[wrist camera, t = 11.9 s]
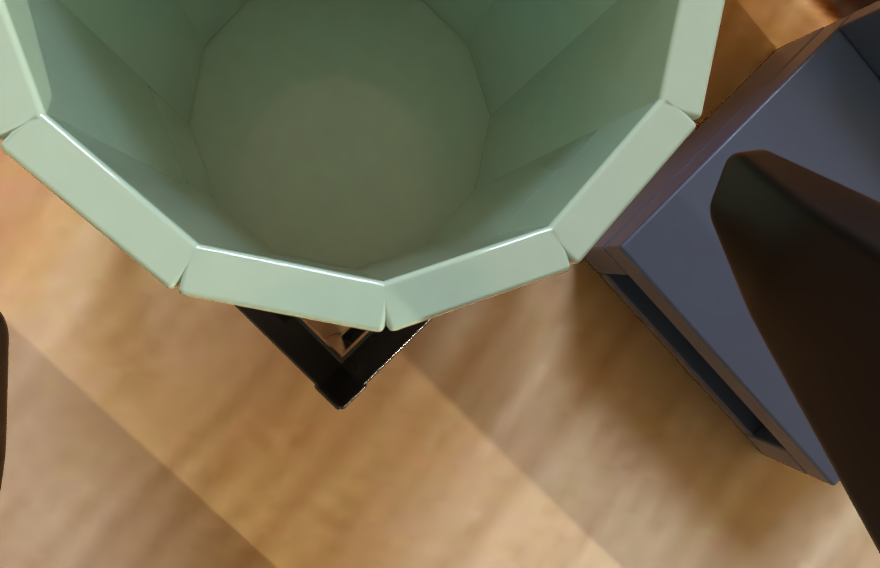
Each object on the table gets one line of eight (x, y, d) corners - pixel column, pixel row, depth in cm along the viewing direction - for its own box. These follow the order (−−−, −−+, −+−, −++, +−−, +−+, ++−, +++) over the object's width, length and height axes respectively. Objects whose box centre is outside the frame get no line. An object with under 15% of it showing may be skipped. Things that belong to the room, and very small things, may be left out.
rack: (337, 368, 19) (340, 413, 13) (123, 155, 18) (30, 109, 12) (539, 172, 19) (619, 139, 14) (343, -44, 18) (349, -171, 13)
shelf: (763, 455, 21) (897, 516, 16) (575, 249, 20) (657, 245, 15) (948, 257, 22) (1132, 256, 17) (777, 47, 20) (920, -20, 15)
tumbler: (463, 311, 14) (647, 384, 6) (148, 248, 13) (-159, 231, 5) (525, 12, 14) (796, -333, 6) (214, -73, 13) (15, -633, 5)
